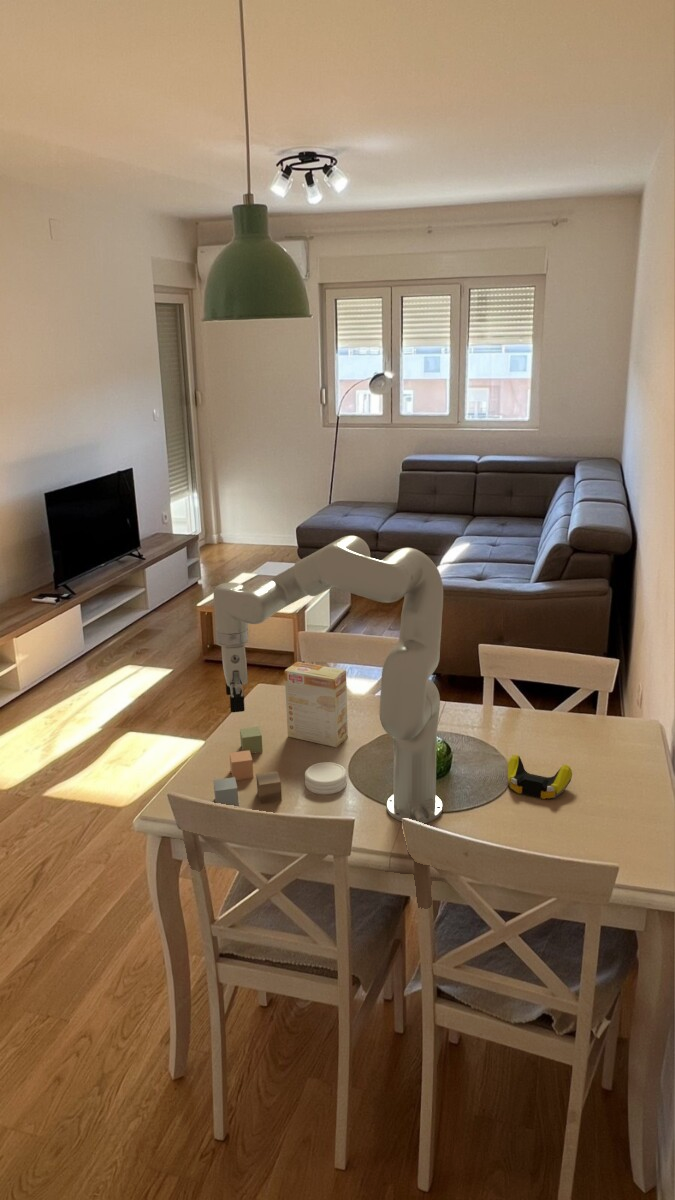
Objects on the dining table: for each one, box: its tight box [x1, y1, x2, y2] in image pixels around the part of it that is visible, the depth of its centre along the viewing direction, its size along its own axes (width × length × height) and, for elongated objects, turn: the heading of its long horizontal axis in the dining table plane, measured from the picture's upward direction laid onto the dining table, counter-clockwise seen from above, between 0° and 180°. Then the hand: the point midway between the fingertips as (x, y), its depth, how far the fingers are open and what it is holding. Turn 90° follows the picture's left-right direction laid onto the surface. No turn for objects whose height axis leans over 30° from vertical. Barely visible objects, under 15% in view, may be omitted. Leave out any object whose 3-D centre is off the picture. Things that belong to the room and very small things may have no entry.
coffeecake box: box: [284, 661, 349, 748], centre depth 218 cm, size 15×7×20 cm, turn 63°
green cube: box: [239, 726, 264, 754], centre depth 215 cm, size 5×5×5 cm
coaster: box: [304, 761, 348, 795], centre depth 198 cm, size 10×10×4 cm
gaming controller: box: [506, 754, 573, 800], centre depth 194 cm, size 15×6×10 cm
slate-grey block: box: [213, 776, 240, 807], centre depth 191 cm, size 5×5×5 cm
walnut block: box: [255, 770, 283, 804], centre depth 193 cm, size 5×5×5 cm
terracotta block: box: [229, 750, 254, 781], centre depth 203 cm, size 5×5×5 cm
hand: (235, 702), depth 198 cm, fingers open, 9 cm apart
